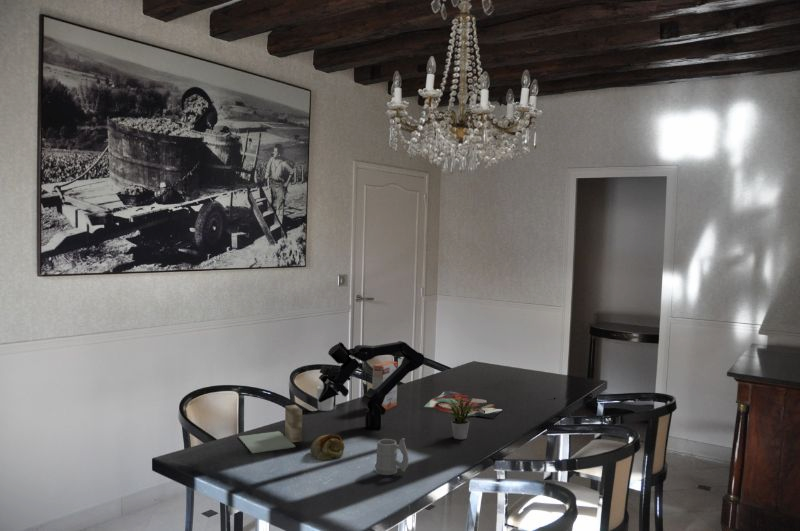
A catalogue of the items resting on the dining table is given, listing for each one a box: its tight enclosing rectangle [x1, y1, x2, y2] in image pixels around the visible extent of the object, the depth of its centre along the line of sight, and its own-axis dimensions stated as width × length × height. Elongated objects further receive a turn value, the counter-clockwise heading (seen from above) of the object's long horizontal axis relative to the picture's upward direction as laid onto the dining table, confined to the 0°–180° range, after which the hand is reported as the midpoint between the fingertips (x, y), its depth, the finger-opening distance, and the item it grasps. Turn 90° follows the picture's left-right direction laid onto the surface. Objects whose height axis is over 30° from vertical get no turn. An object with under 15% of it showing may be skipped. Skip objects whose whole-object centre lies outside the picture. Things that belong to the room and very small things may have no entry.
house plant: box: [445, 396, 477, 440], centre depth 243 cm, size 14×14×16 cm
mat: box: [238, 430, 296, 454], centre depth 233 cm, size 16×20×1 cm
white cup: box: [316, 384, 335, 412], centre depth 281 cm, size 8×8×10 cm
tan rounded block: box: [284, 404, 303, 443], centre depth 238 cm, size 4×8×12 cm, turn 28°
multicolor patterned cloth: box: [423, 390, 502, 420], centre depth 292 cm, size 35×35×2 cm
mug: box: [374, 437, 409, 476], centre depth 204 cm, size 8×12×12 cm, turn 63°
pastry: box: [310, 433, 346, 462], centre depth 221 cm, size 14×12×8 cm
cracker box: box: [371, 360, 399, 411], centre depth 284 cm, size 14×6×21 cm, turn 151°
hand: (319, 401), depth 242 cm, fingers closed
